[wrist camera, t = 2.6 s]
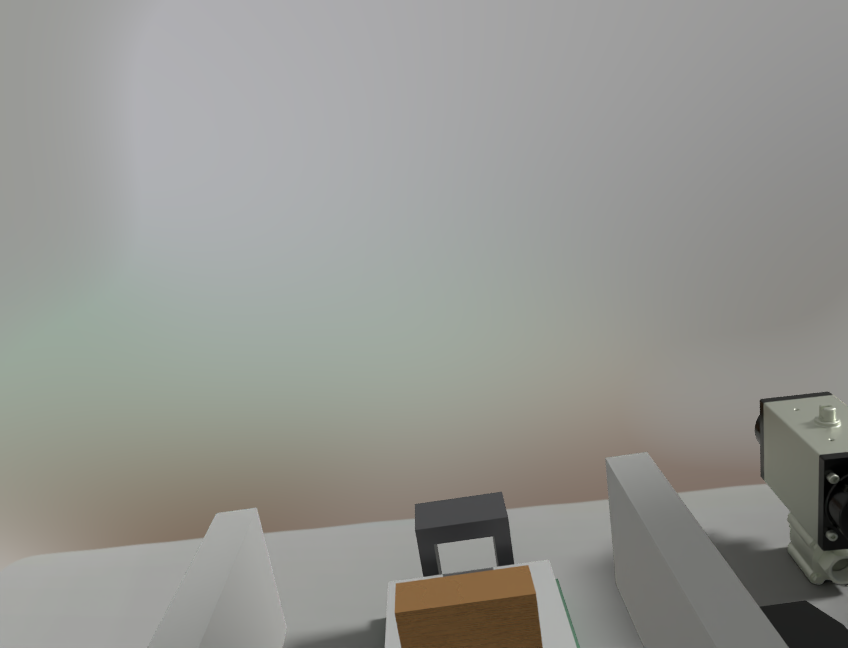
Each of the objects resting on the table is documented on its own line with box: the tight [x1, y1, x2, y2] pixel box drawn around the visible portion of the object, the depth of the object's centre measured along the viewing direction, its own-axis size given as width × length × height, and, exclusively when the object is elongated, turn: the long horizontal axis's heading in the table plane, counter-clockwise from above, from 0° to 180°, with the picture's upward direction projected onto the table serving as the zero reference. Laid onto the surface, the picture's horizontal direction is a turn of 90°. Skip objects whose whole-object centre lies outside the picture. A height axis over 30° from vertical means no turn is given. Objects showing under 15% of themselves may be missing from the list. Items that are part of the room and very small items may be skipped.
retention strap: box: [395, 565, 543, 648], centre depth 32 cm, size 14×5×10 cm, turn 1°
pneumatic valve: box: [755, 392, 848, 584], centre depth 44 cm, size 6×12×12 cm, turn 177°
